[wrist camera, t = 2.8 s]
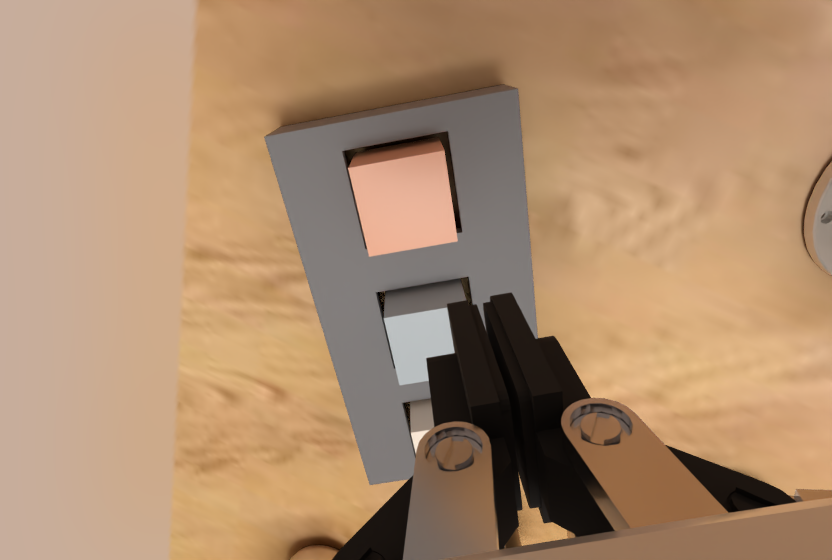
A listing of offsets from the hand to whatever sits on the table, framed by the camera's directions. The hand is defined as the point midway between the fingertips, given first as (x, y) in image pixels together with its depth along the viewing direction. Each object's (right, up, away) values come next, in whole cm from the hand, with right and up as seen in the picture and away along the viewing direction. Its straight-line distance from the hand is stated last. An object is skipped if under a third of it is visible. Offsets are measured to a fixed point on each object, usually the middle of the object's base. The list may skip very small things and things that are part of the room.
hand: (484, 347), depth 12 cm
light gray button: (-1, 0, +21) cm, 21 cm away
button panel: (-1, 0, +23) cm, 23 cm away
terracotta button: (-3, +8, +17) cm, 19 cm away
